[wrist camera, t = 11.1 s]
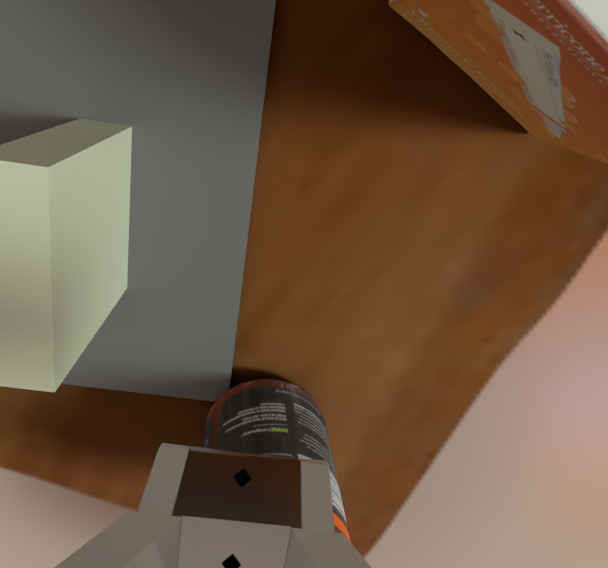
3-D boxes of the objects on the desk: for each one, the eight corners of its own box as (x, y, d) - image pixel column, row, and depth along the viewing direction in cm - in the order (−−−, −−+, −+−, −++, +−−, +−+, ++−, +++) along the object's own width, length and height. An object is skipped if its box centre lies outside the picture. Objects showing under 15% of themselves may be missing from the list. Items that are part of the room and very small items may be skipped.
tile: (80, 118, 21) (-32, 155, 14) (132, 126, 22) (48, 167, 14) (81, 281, 24) (-13, 384, 17) (127, 287, 24) (54, 392, 17)
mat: (-181, -88, 19) (-193, -91, 19) (277, -8, 20) (276, -9, 20) (-109, 357, 26) (-116, 362, 26) (228, 397, 27) (227, 403, 27)
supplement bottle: (238, 481, 29) (236, 730, 19) (182, 401, 26) (145, 642, 16) (341, 439, 29) (395, 673, 18) (295, 353, 26) (328, 573, 16)
